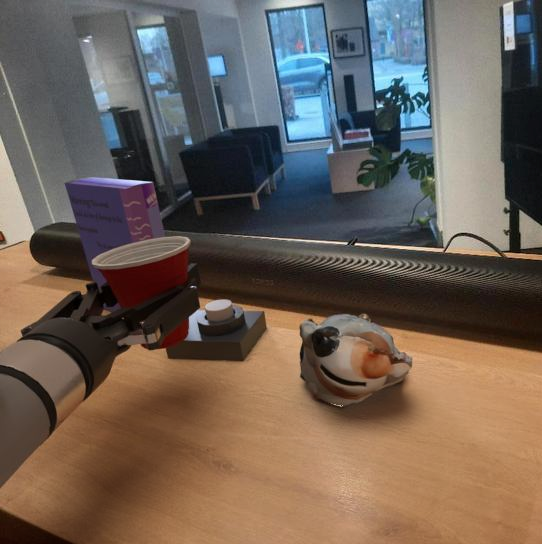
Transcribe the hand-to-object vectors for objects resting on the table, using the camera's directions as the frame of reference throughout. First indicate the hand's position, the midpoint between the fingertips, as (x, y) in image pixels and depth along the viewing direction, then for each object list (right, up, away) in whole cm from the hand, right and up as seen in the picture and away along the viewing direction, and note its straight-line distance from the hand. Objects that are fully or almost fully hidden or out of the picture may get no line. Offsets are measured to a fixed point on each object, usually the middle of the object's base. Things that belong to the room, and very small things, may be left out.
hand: (165, 274), depth 63 cm
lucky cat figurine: (+25, -15, +1) cm, 29 cm away
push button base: (+3, -11, +14) cm, 18 cm away
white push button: (+4, -7, +12) cm, 14 cm away
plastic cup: (+1, -8, -2) cm, 8 cm away
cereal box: (-15, -7, +27) cm, 32 cm away
